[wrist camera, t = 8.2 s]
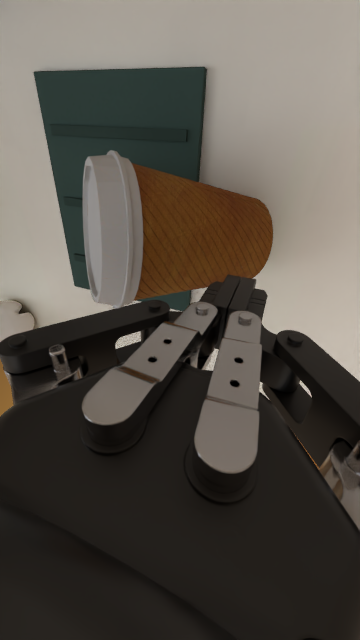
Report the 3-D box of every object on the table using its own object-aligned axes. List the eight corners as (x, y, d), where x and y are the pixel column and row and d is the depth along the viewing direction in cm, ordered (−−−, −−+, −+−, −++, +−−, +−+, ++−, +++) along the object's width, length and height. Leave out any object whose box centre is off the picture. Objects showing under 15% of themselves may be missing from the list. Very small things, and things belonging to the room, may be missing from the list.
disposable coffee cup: (311, 176, 16) (102, 140, 11) (268, 320, 20) (104, 338, 16) (225, 172, 24) (78, 149, 19) (208, 277, 28) (84, 280, 23)
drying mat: (77, 284, 34) (72, 287, 34) (38, 72, 23) (30, 70, 23) (189, 310, 30) (187, 314, 30) (206, 68, 19) (203, 65, 19)
